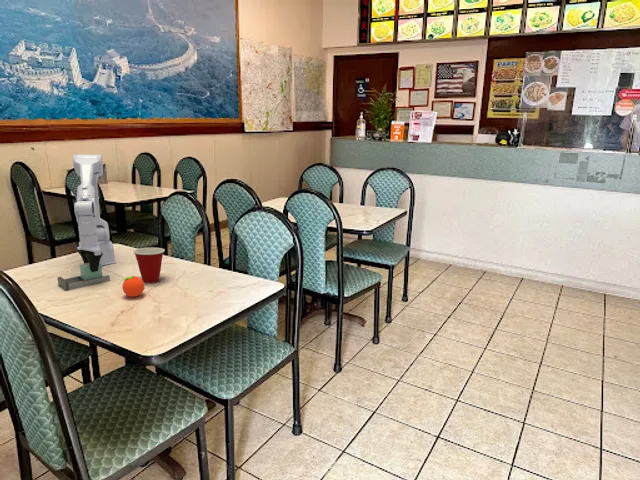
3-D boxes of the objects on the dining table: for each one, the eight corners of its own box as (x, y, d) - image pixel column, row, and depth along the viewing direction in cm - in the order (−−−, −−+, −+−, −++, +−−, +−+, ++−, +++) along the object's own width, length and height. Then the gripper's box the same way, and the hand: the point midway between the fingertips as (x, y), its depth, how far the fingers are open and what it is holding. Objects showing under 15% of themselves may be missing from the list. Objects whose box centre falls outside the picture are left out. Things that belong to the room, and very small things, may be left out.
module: (98, 273, 168) (96, 260, 167) (102, 276, 166) (101, 263, 164) (81, 277, 164) (79, 264, 162) (85, 280, 161) (84, 266, 160)
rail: (101, 275, 171) (100, 268, 170) (110, 280, 166) (109, 272, 165) (58, 285, 160) (57, 277, 159) (66, 290, 155) (65, 282, 155)
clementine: (119, 301, 148) (117, 281, 146) (120, 293, 154) (118, 274, 152) (145, 298, 151) (143, 278, 149) (144, 291, 157) (143, 272, 155)
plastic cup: (171, 276, 173) (169, 246, 169) (158, 286, 162) (156, 254, 159) (144, 274, 173) (141, 244, 170) (130, 284, 163) (127, 252, 160)
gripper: (68, 231, 162) (72, 267, 166) (84, 239, 153) (88, 277, 157) (88, 228, 168) (92, 263, 171) (105, 236, 158) (109, 272, 162)
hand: (92, 269), depth 164 cm, fingers closed on module, 4 cm apart
